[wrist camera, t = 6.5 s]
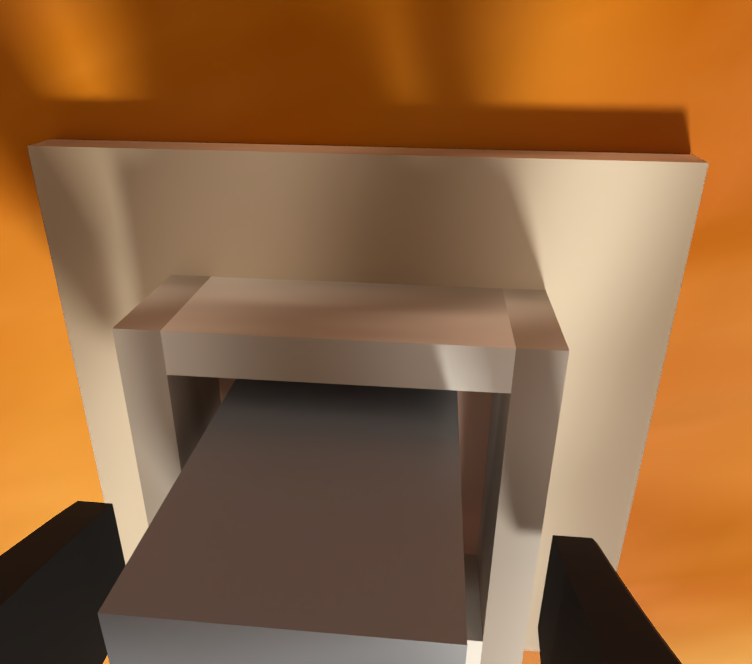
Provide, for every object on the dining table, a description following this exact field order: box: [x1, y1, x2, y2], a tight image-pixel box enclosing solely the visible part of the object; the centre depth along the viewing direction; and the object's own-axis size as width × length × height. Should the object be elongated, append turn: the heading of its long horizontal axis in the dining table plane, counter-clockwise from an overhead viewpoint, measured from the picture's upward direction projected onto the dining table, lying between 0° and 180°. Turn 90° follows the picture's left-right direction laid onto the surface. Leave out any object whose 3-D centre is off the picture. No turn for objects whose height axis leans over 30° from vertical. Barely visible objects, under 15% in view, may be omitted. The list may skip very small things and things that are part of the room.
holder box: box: [27, 139, 709, 664], centre depth 13 cm, size 12×12×3 cm
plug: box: [98, 379, 467, 664], centre depth 11 cm, size 4×4×6 cm
